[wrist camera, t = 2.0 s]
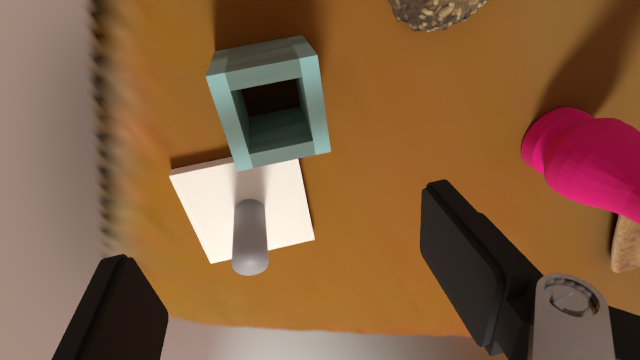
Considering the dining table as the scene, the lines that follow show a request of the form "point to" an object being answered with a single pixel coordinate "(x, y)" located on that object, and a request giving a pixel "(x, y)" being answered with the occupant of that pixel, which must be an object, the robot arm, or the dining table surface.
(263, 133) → the collar
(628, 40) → the dining table surface
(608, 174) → the pepper mill
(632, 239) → the beige hollow piece
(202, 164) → the shaft base
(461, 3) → the bread roll
